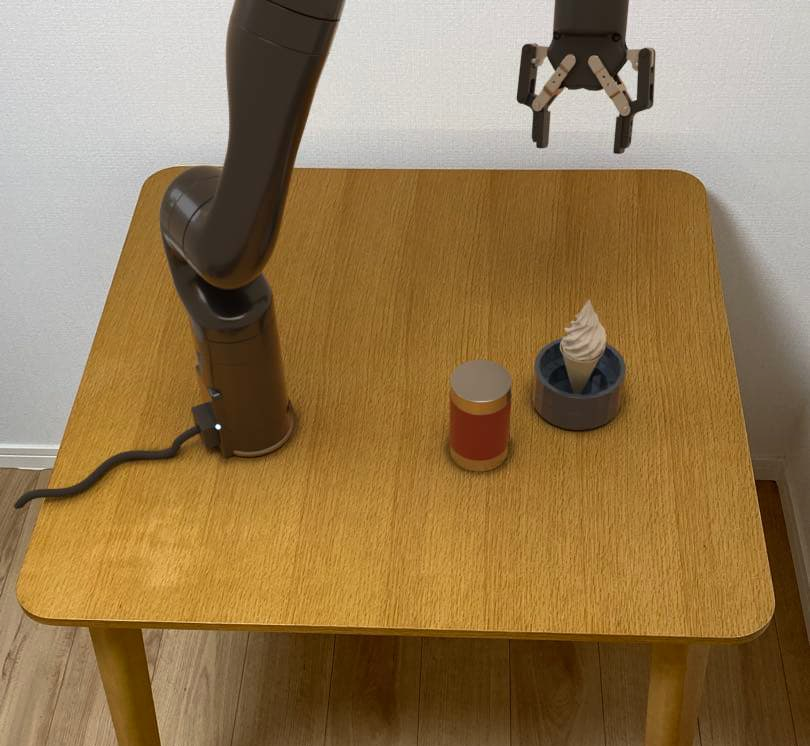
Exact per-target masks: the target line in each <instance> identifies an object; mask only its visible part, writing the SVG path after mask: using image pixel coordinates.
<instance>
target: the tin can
mask: <svg viewBox="0 0 810 746" xmlns="http://www.w3.org/2000/svg"><path fill="white" fill-rule="evenodd" d="M512 382H513V381H512V376H511V374H510V372H509V371H508V369H507V368H505V366H503V365H502V364H500V363H498V362H496V361H493V360H488V359H473V360H469V361H466V362H463V363H461V364H460V365H458V366H457V367H456V368H455V369H454V370H453V371H452V373H451V375H450V378H449V454H450V458H451V459H452V460H453V461H454V463H455V464H456V465H457V466H459V467H460V468H462V469H463V470H466V471H470V472H477V473H480V472H481V473H483V472H488V471H492V470H494V469H496V468H498V467H499V466H501V465H502V464H503V463H504V462H505V461H506V459H507V457H508V453H509V443H510V442H509V441H510V429H511V428H510V427H511V411H512V410H511V409H512V408H511V407H512Z"/></svg>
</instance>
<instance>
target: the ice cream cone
mask: <svg viewBox="0 0 810 746" xmlns="http://www.w3.org/2000/svg"><path fill="white" fill-rule="evenodd" d="M574 317H575V319H577V320H571V321H570V322H569V323H570V324H571V327H564V331H565V333H568V334H567V335H563V336H562V338H563V339H562V341H561V343H560V350H561V352H562V354H563V358H564V362H565V365H566V369H567V373H568V377H569V380H570V384H571V388H572V392H573V394H578V395H581V393H582V391H583V389H584V387H585V385H586V383H587V381H588V379H589V378H590V375H591V373H592V372H593V370H594V368H595V366H596V364H597V362H598V360H599V358H600V357H601V356H602V355H603V353H604V350H605V345H606V343H607V333H606V329H605V328H604V326H603V325H602V324H601V323H600V322H599V315H598V314H597V313H596V312H595V309H594V307H593V305H592V303H591V298H588V299H587V301H586V303H585V304H584V305H583V307H582V308H581V310H580V311H579V313H577V314H576V315H574Z"/></svg>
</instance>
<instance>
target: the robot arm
mask: <svg viewBox="0 0 810 746" xmlns="http://www.w3.org/2000/svg"><path fill="white" fill-rule="evenodd" d="M346 2H347V0H234V2H233V5H232V9H231V12H230V16H229V20H228V25H227V29H226V41H225V79H226V92H227V106H228V139H227V146H226V152H225V157H224V162H223V165H222V167H221V168H220V167H218V166H213V165H208V164H206V165H205V164H202V165H201V164H200V165H195V166H192V167H189V168H187V169H184V170H182V171H181V172H180V173H179V174H177V175H176V176H175V177H174V178H173V179H172V180H171V181H170V182H169V184H168V185H167V187H166V188H165V190H164V193H163V195H162V197H161V201H160V205H159V210H158V211H159V212H158V225H159V231H160V232H159V233H160V236H161V241H162V245H163V249H164V253H165V256H166V261H167V264H168V268H169V272H170V275H171V279H172V282H173V286H174V289H175V291H176V295H177V296H178V298H179V301H180V303H181V305H182V306H183V308H184V310H185V313H186V317H187V320H188V325H189V328H190V332H191V336H192V341H193V345H194V351H195V355H196V359H197V364H196V365H195V366H194V369H195V373H196V378H197V383H198V387H199V392H200V396H201V400H202V403H200V404H197V405H195V406H192V407H190V410H191V414H192V419H193V421H194V426H192V427H191V428H189V429H187V430H185V431H183V432H182V433H181V434H179V435H178V436H177V437H176V438H175V439H174V440H173V442H172V443H171V446H170V447H168V448H165V449H163V450H162V449H161V450H127V451H123V452H119V453H117V454H115V455H112V456H111V457H109V458H108V459H106V460H105V461H103V462H102V463H100V465H99V466H98V467H96V469H94V471H92V473H90V474H89V475H88V476H87V477H86V478H85V479H83V480H81V481H80V482H78V483H75V484H74V485H71V486H67V487H62V488H38V489H32V490H30V491H27V492H25V493H24V494H22V495H21V496H20V497H19V498H18V499H17V500H16V501H15V503H14V505H13V508H14V509H16V510H19V509H22V508H24V506H25V505H27V504H28V503H29V502H30V501H33V500H36V499H42V498H45V499H46V498H65V497H71V496H74V495H77V494H79V493H82V492H83V491H85V490H87V489H88V488H90V487H92V485H94V483H96V482H97V481H98V480H99V479H100V478H101V477H102V476H103V475H104V474H105V473H106V472H107V471H108V470H110V469H111V468H112V467H114V466H116V465H118V464H120V463H122V462H125V461H128V460H163V459H164V460H165V459H167V458H170V457H173V456H175V455H177V454H178V453H179V451H180V449H181V446H182V445H183V444H184V443H185V442H187V441H188V440H191V439H193V438H194V437H195V436H197V435H199V436H200V438H201V440H202V442H203V445H204V447H205V448H206V450H208V449H211V448H214V447H217V446H218V447H219V450H220V451H221V454H222V456H223V457H224V458H230V457H232V456H238V457H242V458H243V457H244V458H254V457H261V456H264V455H265V456H266V455H268V454H270V453H272V452H275V451H276V450H278V449H279V448H281V447H282V446H284V444H286V443H287V442H288V441H289V439H290V437H291V435H292V434H293V429H294V420H293V416H294V415H295V414H294V413H295V412H294V408H293V405H292V402H291V400H290V396H289V392H288V385H287V379H286V372H285V364H284V359H283V351H282V345H281V338H280V332H279V331H280V330H279V324H278V319H277V311H276V305H275V296H274V293H273V289H272V286H271V284H270V282H269V280H268V278H267V277H266V275H265V273H264V270H265V268H266V267H267V266H268V263H269V261H270V260H271V259H272V256H273V254H274V251H275V249H276V246H277V242H278V239H279V235H280V231H281V228H282V223H283V219H284V213H285V209H286V204H287V199H288V195H289V190H290V185H291V181H292V176H293V172H294V167H295V164H296V159H297V155H298V152H299V149H300V145H301V143H302V139H303V136H304V133H305V130H306V125H307V122H308V119H309V116H310V112H311V110H312V106H313V102H314V98H315V95H316V93H317V89H318V86H319V83H320V80H321V77H322V74H323V71H324V69H325V66H326V63H327V61H328V58H329V55H330V53H331V49H332V46H333V44H334V41H335V37H336V34H337V32H338V28H339V25H340V22H341V18H342V16H343V12H344V9H345V5H346ZM629 4H630V0H554V7H553V9H554V10H553V21H552V22H553V23H552V39H551V42H550V43H549V46H545V45H539V44H538V43H537V42H536V43H535V42H534V43H533V42H532V43H525V44H524V45H522V47H521V53H520V61H519V71H518V81H517V89H516V102H517V103H518V104H520V105H523V106H526V107H528V108H529V109H531V110H532V125H531V140H532V142H533V143H535V147H536V149H546V148H548V147H549V141H550V140H549V139H550V127H551V126H550V123H551V110H549V107H550V106H551V105H552V104H553V102H554V101H555V100H556V99H557V97H558V96H559V95H560V94H561V93H563V91H564V90H565V89H567V90H568V91H576V90H577V91H578V90H583V89H584V90H586V91H591V92H598V91H602V90H604V92H605V93H606V95H607V96H608V98H609V99H610V100H611V101H612V103H613V105H614V106H615V108H616V110H617V111H618V116H616V117H615V128H614V139H613V150H612V151H613V154H615V155H622V154H624V153H625V151H626V149H628V148H630V146H631V144H632V138H633V129H634V128H633V126H634V119H635V116H636V115H637V114H638V113H640V112H643V111H647V110H649V109H652V108H653V106H654V102H655V101H654V100H655V99H654V97H655V77H656V75H655V74H656V50H655V48H653V47H648V46H647V47H643V48H638V49H629V48H628V45H627V38H626V37H627V27H628V16H629V6H630V5H629ZM546 58H547V60H548V61H549V62H548V63H550V65H551V67H552V69H553V73H552V74H551V76H550V77H549V79H548V80H547V81H546V83H545V84H544V85H543V87H542V90H541V91H540V92H539V94H536V85H537V79H538V77H537V76H538V70H539V69H538V67H539V68H540V67H542V66H543V64H544V61H545V59H546ZM628 61H630V63H631V68H632V69H633V71H635V72H637V79H636V80H637V82H636V99H635V100H633V99H632V97H631V95H630V94H629V92H628V89H627V86H626V85H625V83H624V81H623V80H622V78H621V76H620V75H619V73H620V71H621V70H622V69H623V68H624V66H625V65H626V63H627V62H628Z"/></svg>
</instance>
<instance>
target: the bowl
mask: <svg viewBox="0 0 810 746" xmlns="http://www.w3.org/2000/svg"><path fill="white" fill-rule="evenodd" d="M562 339H563V337H561V338H558V339H556V340H552V341H550V342H549V343H547V344H546V345H544V346H543V347H542V348H541V349H540V351H539V352H538V353H537V354H536V356H535V359H534V364H533V365H534V366H533V377H532V390H531V391H532V392H531V399H532V403H533V408H534V409H535V410H536V412H537V413H538V414H539V416H540V417H541V418H543V419H544V420H545V421H546V422H548V423H550V424H552V425H554V426H555V427H559V428H562V429H565V430H574V431H584V430H592V429H596V428H599V427H601V426H604V425H606V424H608V423H609V422H610V421H611V420H613V419H615V417H616V416H617V414H618V412H619V411H620V409H621V406H622V400H623V395H624V393H623V392H624V386H625V379H626V373H627V372H626V371H627V365H626V362H625V360H624V357H623V355H622V354H621V353H620V352H619V351H618V350H617V348H615V347H614V346H612V345H611V344H609V343H607V342H606V345H605V350H604V353H603V355H602V356H601V357H600V358H599V360H598V362H597V364H596V366H595V368H594V370H593V372H592V373H591V375H590V378H589V379H588V381H587V383H586V385H585V387H584V389H583V391H582V393H581V395H578V394H573V392H572V388H571V384H570V380H569V377H568V373H567V369H566V365H565V362H564V358H563V354H562V352H561V350H560V343H561V341H562Z"/></svg>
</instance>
